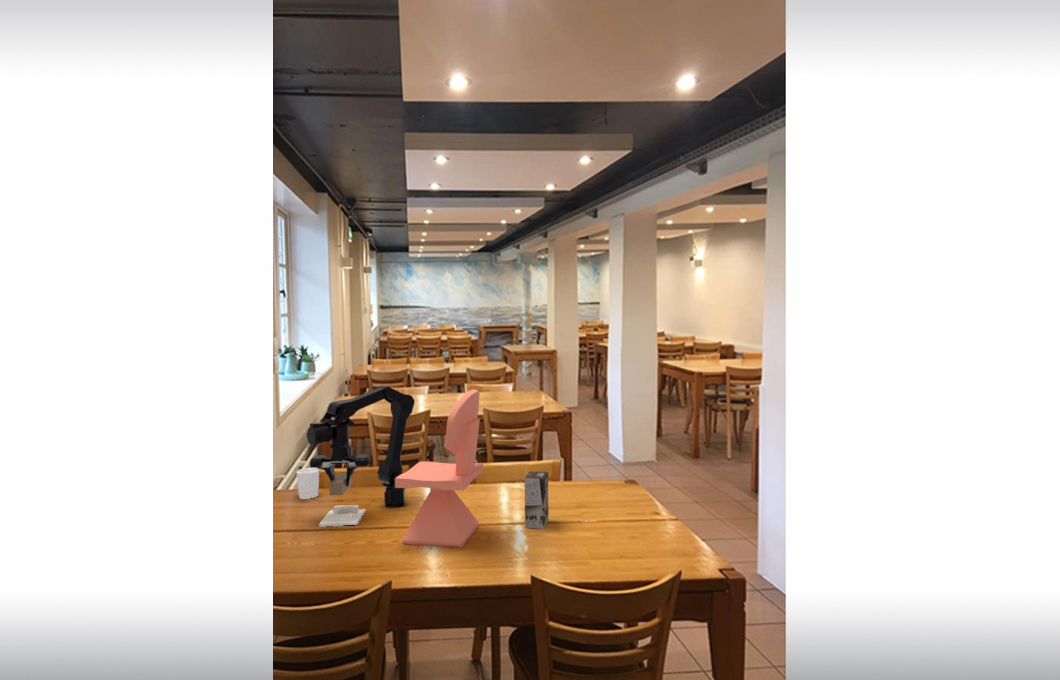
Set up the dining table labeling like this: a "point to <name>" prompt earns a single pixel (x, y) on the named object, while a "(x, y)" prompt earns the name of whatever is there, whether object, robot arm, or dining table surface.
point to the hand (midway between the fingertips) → (341, 486)
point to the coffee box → (536, 500)
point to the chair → (447, 482)
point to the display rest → (343, 516)
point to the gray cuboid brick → (339, 484)
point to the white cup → (308, 482)
